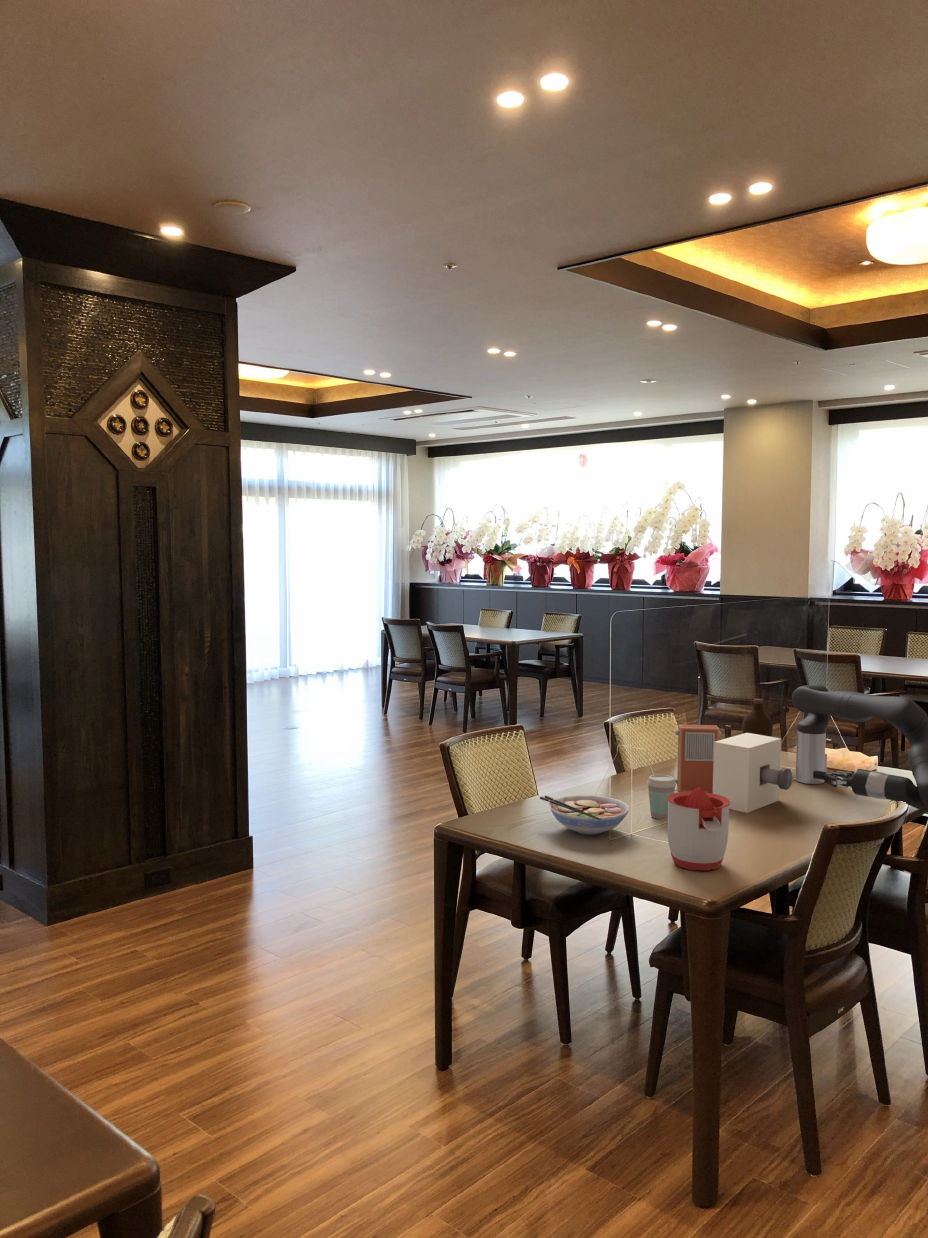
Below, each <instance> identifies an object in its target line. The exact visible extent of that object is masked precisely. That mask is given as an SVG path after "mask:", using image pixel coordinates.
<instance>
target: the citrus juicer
mask: <svg viewBox="0 0 928 1238" xmlns="http://www.w3.org/2000/svg"><path fill="white" fill-rule="evenodd" d="M667 800H668V819H667V842H668V847H669V850H670V855H671V858H672V861H673V863H674V864H675V865H677V866H678V867H681V868H683V869H686V870H688V871H712V870H711V869H713V870H716V869H715V868H717V869H718V868H719V867H720V866H721V864H722V863H723V860H724V857H725V854H726V850H727V845H728V839H729V823H730V822H729V819H730V809H729V805H730V801H729V799H727V798H726V797H723V796H721V795H717V794H713V793H712V792H704V791H703V790H702V789H701V788H696V789H695V790H694V791H685V792H680V791H677V792H674V793H673V794H670V795H669V796H668V797H667Z"/></svg>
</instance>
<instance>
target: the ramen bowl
mask: <svg viewBox="0 0 928 1238" xmlns="http://www.w3.org/2000/svg"><path fill="white" fill-rule="evenodd" d="M539 799H540V800H542V801H545V802H547V803H548V805H549V806H548V807H549V808H550V811H551V813H552V815H553V816H554V818H555V819H556V820H557V822H558V823H559V824H560V825H562V826H563V827H565V828H567V829H568V830H571V831H574V832H575V833H578V834H580V835H585V836H594V835H595V836H596V835H600V834H601V833H604V832H608V831H610V830H613V829H615V828H617V826H619V825H620V823H621V822H622V821H623V820H624V819H625V818H626V817H627V816H628V813H629V811H630V806H629V805H628V804H627V803H626V802H624V801H623V800H620V799H616V798H611V797H608V796H604V795H603V796H601V795H593V794H591V795H590V794H586V795H585V794H584V795H583V794H577V795H566V796H562V797H557V798H553V797H550V796H549V795H544V796H539Z"/></svg>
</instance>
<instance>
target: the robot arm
mask: <svg viewBox="0 0 928 1238" xmlns="http://www.w3.org/2000/svg"><path fill="white" fill-rule="evenodd" d="M791 702H792V704H793V706H794V708H796V709H797V710H798V711H799V712H801V713H805V714H806V713H808V714H807V716H806V717H804V718H803V719H801V720H800V721H799V722H797V726H796V749H795V750H796V751H795V753H796V754H795V755H796V757H795V758H796V759H795V777H794V779H795V781H797V782H799V783H802V784H809V785H820V784H824V783H825V784H827V785H828V786H831V787H833V788H837V787H838V786H839V787H841V788H845V789H847V788H851V789H852V790H851V791H852V793H854V795H856V796H860V797H861V796H862V797H866V798H867V797H868V798H873V799H879V800H888V801H893V802H898V801H903V802H906V803H905V804H906V805H908V806H910V807H912V808H915V809H918V810H920V811H921V812H925V813H928V714H927V712H926V711H925V710H924V709H923V708H921V707H920V706H919V705H918V704H917V703H916V702H915V701H913V699H911V698H908V697H905V696H893V695H892V696H890V695H887V696H886V695H885V696H884V695H883V696H882V695H875V694H868V693H864V692H863V693H862V692H858V691H857V692H856V691H847V690H833V691H829V690H828V688H827V686H825V685H822V684H810V685H809V684H807V685H802V686H799V687H797V688H796V689H794V690H793V692H792V695H791ZM830 717H834V718H838V719H843V720H846V721H852V722H858V723H862V722H867V721H869V720H871V719H872V718H877V719H882V720H885V721H886V722H888V723H889V724H890V725H892V726H893V727H894V728H895V729H896V730H897V731H899V732H900V733H901V734H903V735H904V737H905V738H906V740H907V741H908V743H909V746H910V749H909V751H908V755H907V758H908V763H909V767H910V770H911V772H912V776H913V778H914V780H915V783H914V782H913V781H912V780H911V779H910V778H908V777H906V776H901V775H895V774H890V773H886V772H882V771H876V770H872V769H871V770H870V769H865V768H857V769H855V771H852V770H846V771H845V770H832V771H827V770H828V754H827V753H826V738H827V736H826V735H827V734H826V733H827V728H828V725H829V722H830V721H829V719H830ZM903 802H902V803H903Z"/></svg>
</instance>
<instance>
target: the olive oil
mask: <svg viewBox="0 0 928 1238" xmlns="http://www.w3.org/2000/svg"><path fill="white" fill-rule="evenodd" d="M763 702H764V699H763V698H753V703H752V704H753V706H752V708H753V709H752V710H751V711H750V712H749V713H748V714H747V715H746V716H744V718H743V721H742V726H741V728H742V733H741V734H744V733H752V734H758V735H764V736H769V737H773V729H774V725H773V721H772V719H771V717H770V716H769V715H768V714H767V713H766V712H765V710H764V703H763Z"/></svg>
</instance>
